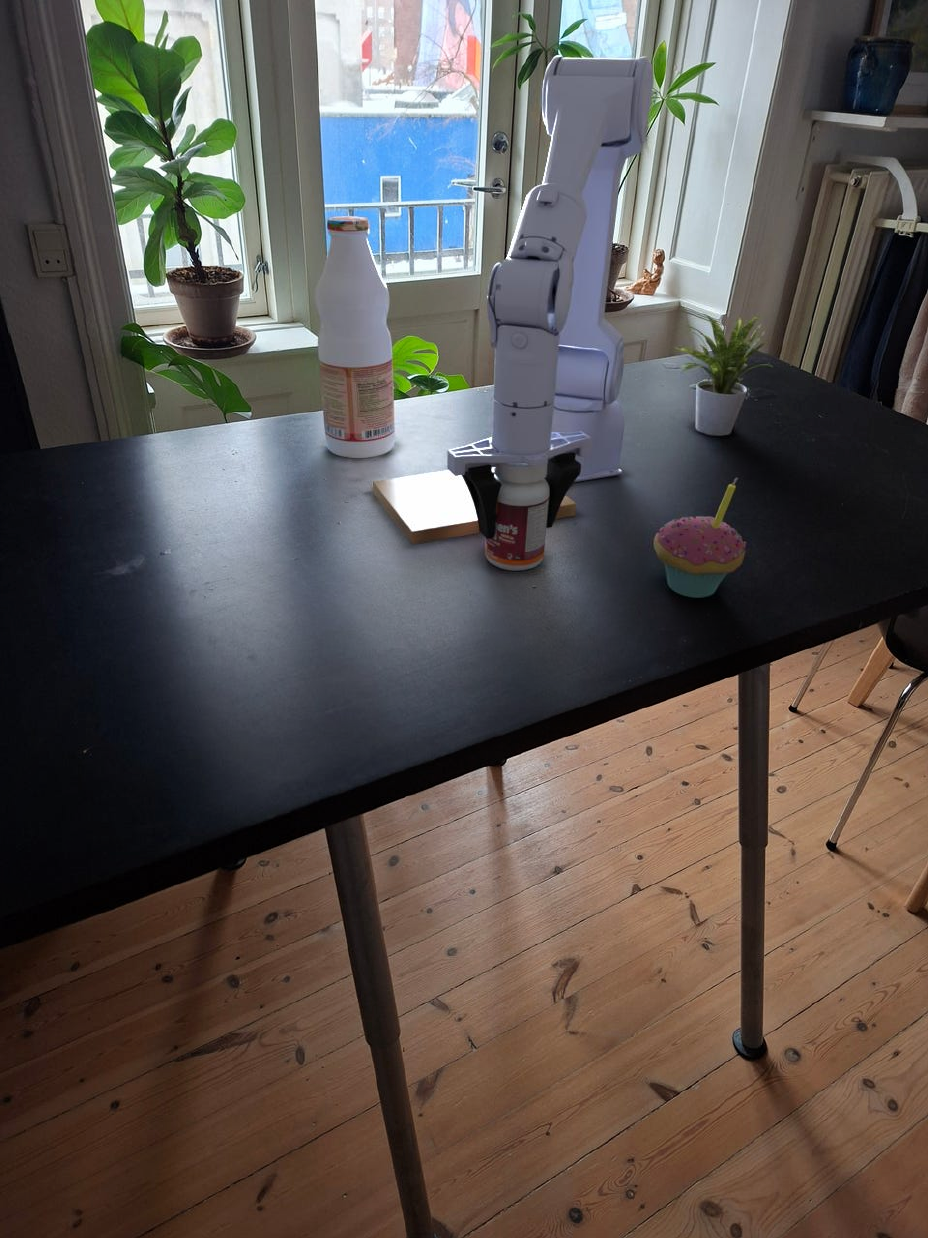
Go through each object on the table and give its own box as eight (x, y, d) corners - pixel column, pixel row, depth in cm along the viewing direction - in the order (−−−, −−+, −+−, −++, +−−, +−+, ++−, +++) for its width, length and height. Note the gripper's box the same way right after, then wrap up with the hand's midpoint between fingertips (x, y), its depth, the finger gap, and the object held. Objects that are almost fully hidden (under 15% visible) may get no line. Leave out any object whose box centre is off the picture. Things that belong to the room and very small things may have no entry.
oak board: (521, 470, 104) (522, 458, 103) (575, 515, 93) (576, 503, 92) (372, 493, 97) (372, 481, 96) (412, 545, 86) (411, 531, 85)
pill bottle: (473, 559, 84) (476, 456, 78) (509, 538, 88) (514, 439, 82) (520, 579, 81) (527, 474, 74) (555, 557, 85) (565, 455, 78)
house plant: (687, 403, 127) (706, 294, 118) (775, 422, 120) (802, 308, 111) (649, 428, 117) (666, 311, 108) (741, 451, 110) (768, 328, 101)
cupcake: (737, 573, 82) (764, 463, 76) (732, 616, 76) (760, 500, 69) (653, 559, 85) (671, 451, 78) (641, 599, 78) (660, 484, 71)
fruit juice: (316, 456, 106) (295, 221, 91) (338, 431, 114) (322, 211, 98) (385, 462, 105) (375, 225, 89) (402, 437, 112) (397, 214, 97)
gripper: (469, 421, 69) (465, 559, 77) (613, 403, 74) (597, 534, 82) (439, 396, 75) (439, 527, 82) (575, 380, 80) (563, 505, 87)
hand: (515, 529), depth 82 cm, fingers closed on pill bottle, 6 cm apart
